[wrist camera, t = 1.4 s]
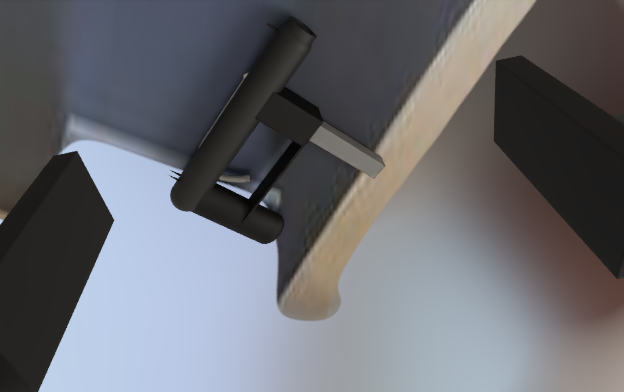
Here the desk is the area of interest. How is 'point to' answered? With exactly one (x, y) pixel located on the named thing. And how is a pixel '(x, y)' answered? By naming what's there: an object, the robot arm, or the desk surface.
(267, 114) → the door handle
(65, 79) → the desk surface
